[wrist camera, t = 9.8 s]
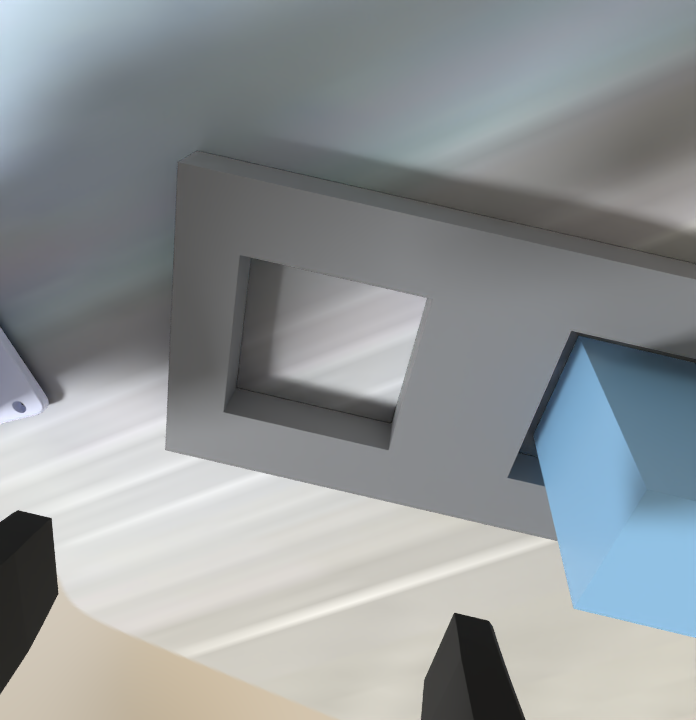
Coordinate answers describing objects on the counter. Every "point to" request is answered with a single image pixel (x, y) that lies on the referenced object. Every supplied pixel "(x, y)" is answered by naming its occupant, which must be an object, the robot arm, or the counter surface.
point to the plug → (624, 483)
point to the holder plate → (432, 344)
